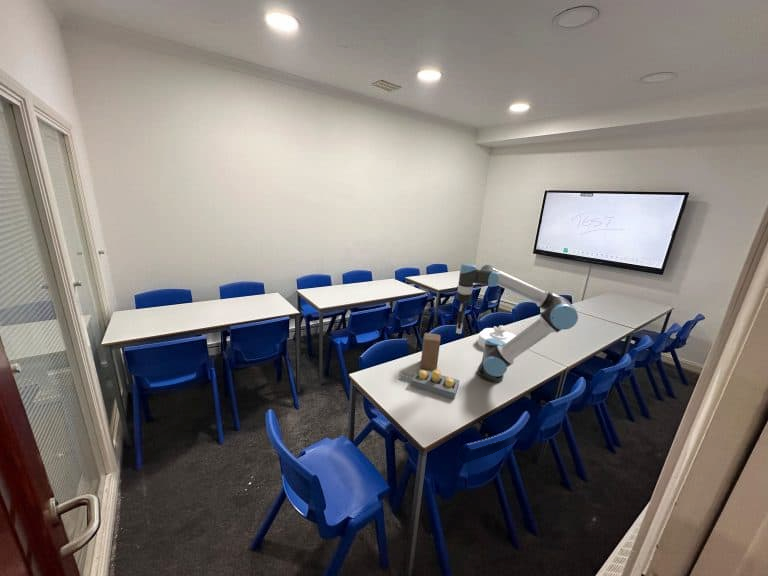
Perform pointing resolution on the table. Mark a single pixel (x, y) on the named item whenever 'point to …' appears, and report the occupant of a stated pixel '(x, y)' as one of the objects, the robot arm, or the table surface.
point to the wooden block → (430, 351)
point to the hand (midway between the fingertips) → (458, 332)
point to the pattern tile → (406, 377)
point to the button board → (435, 385)
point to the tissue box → (494, 335)
